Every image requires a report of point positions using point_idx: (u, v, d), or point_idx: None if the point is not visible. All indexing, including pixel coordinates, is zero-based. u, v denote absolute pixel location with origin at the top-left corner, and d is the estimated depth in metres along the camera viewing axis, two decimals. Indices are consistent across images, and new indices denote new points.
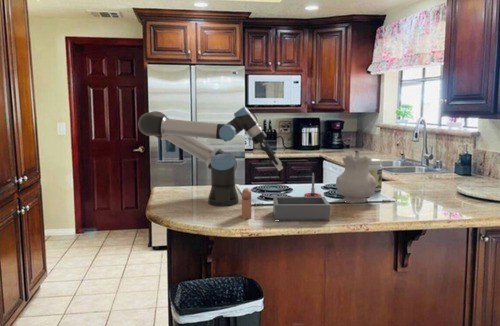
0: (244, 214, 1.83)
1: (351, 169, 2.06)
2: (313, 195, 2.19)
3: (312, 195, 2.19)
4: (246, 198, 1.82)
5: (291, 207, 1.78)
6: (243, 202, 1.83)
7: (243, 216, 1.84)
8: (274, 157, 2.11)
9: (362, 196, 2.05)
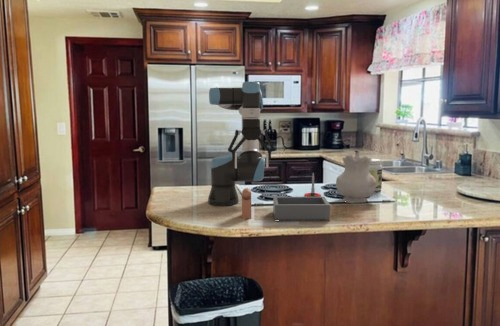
0: (244, 214, 1.83)
1: (351, 169, 2.06)
2: (313, 195, 2.19)
3: (312, 195, 2.19)
4: (246, 198, 1.82)
5: (291, 207, 1.78)
6: (243, 202, 1.83)
7: (243, 216, 1.84)
8: None
9: (362, 196, 2.05)
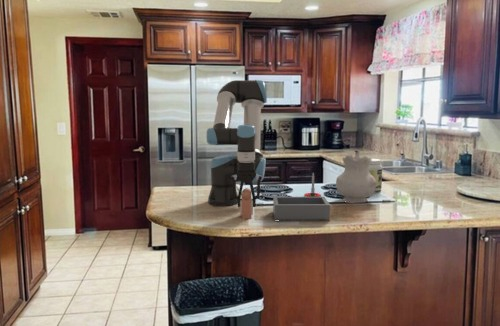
0: (244, 214, 1.83)
1: (351, 169, 2.06)
2: (313, 195, 2.19)
3: (312, 195, 2.19)
4: (246, 198, 1.82)
5: (291, 207, 1.78)
6: (243, 202, 1.83)
7: (243, 216, 1.84)
8: (234, 198, 1.84)
9: (362, 196, 2.05)
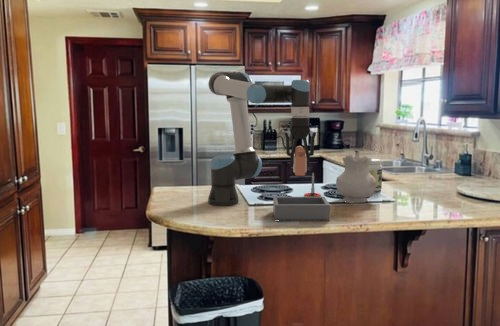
0: (298, 171, 1.80)
1: (351, 169, 2.06)
2: (313, 195, 2.19)
3: (312, 195, 2.19)
4: (301, 154, 1.79)
5: (291, 207, 1.78)
6: (297, 159, 1.79)
7: (297, 173, 1.80)
8: None
9: (362, 196, 2.05)
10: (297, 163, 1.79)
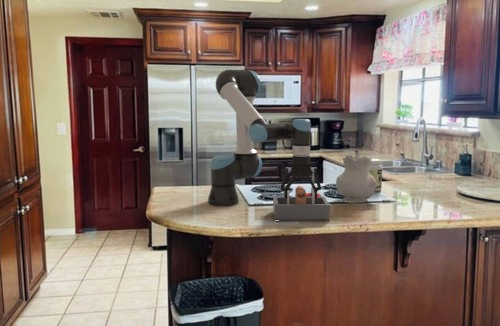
0: None
1: (351, 169, 2.06)
2: None
3: None
4: (301, 196, 1.82)
5: (291, 207, 1.78)
6: (298, 200, 1.82)
7: None
8: (281, 189, 1.84)
9: (362, 196, 2.05)
10: None
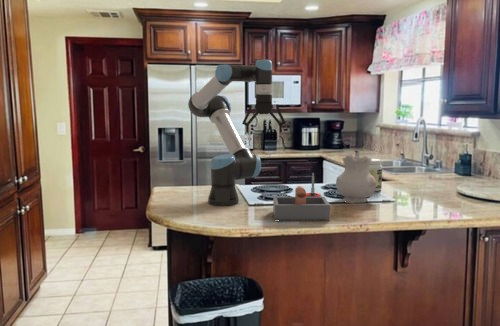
0: None
1: (351, 169, 2.07)
2: (313, 195, 2.19)
3: (312, 195, 2.19)
4: (301, 196, 1.82)
5: (291, 207, 1.78)
6: (298, 200, 1.82)
7: None
8: None
9: (362, 196, 2.05)
10: None
